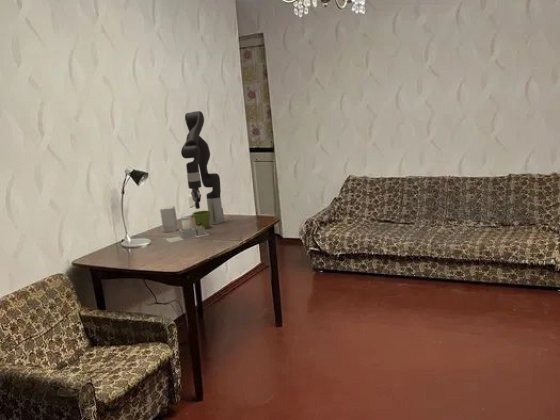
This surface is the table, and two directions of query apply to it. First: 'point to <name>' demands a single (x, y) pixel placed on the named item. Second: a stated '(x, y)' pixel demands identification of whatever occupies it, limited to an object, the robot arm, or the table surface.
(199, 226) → the plunger
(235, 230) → the table surface
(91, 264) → the table surface
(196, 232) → the housing
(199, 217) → the plant pot
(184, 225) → the cartridge
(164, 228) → the skincare box
